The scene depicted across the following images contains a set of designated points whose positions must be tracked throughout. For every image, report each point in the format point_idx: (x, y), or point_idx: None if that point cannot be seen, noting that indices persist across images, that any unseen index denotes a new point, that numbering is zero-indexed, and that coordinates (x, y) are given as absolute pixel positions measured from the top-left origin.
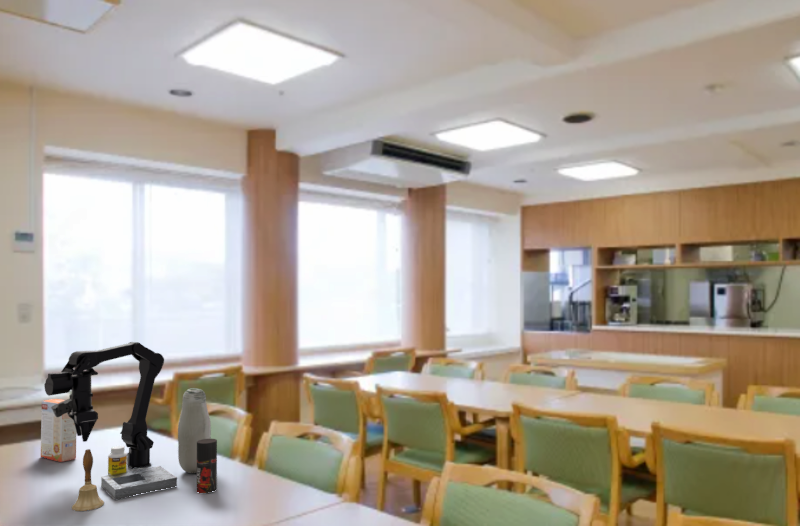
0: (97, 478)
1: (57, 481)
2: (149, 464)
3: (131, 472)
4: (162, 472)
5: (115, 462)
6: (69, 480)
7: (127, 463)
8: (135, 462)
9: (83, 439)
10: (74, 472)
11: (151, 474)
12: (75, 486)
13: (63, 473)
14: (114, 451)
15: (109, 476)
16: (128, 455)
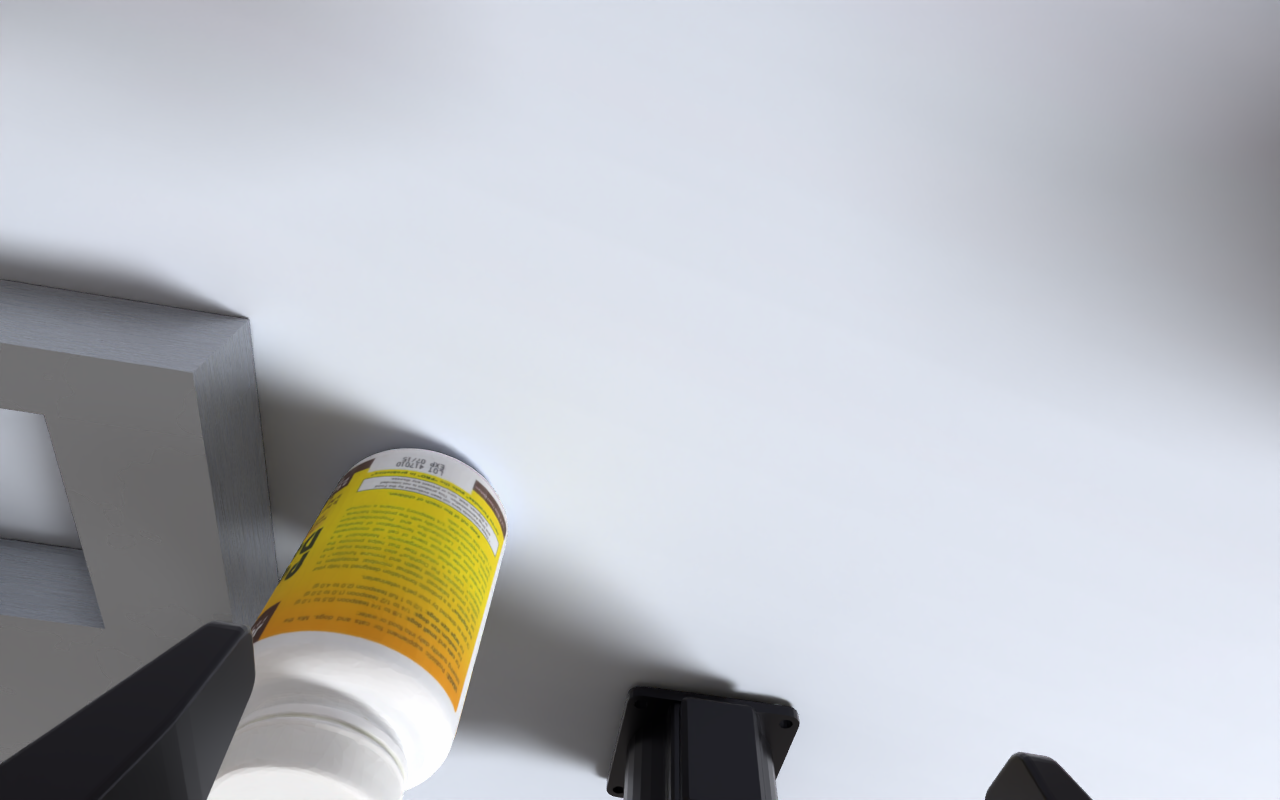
0: (591, 407)
1: (874, 43)
2: (607, 785)
3: (186, 608)
4: (28, 735)
5: (259, 615)
6: (778, 174)
7: (737, 715)
8: (651, 751)
9: (152, 670)
10: (1055, 343)
11: (3, 672)
12: (453, 124)
13: (1154, 242)
14: (238, 739)
15: (151, 432)
16: (712, 790)
